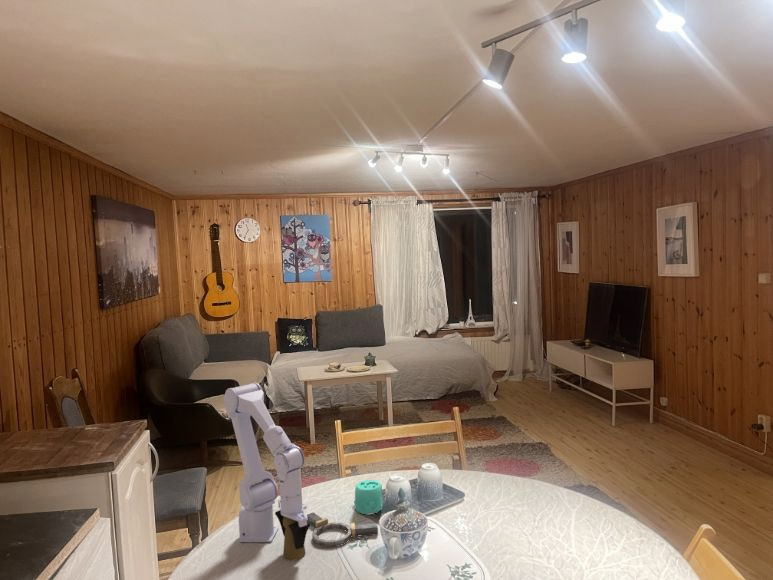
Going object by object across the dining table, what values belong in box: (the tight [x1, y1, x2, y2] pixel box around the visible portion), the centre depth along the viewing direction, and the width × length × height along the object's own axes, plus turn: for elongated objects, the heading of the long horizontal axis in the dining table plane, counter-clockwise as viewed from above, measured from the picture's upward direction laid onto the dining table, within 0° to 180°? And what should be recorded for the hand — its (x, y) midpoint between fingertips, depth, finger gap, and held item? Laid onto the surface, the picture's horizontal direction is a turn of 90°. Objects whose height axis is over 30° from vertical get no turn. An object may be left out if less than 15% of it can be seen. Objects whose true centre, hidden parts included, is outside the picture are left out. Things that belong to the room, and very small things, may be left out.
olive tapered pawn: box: [282, 517, 307, 561], centre depth 152 cm, size 6×6×11 cm
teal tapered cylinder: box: [354, 479, 383, 515], centre depth 177 cm, size 8×8×8 cm
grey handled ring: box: [306, 512, 379, 548], centre depth 163 cm, size 22×16×3 cm
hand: (293, 541), depth 152 cm, fingers open, 7 cm apart
